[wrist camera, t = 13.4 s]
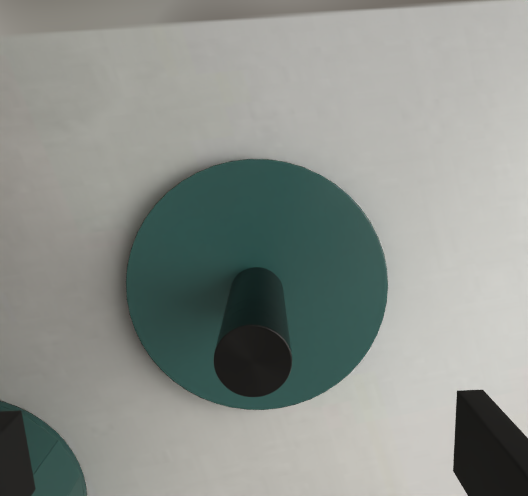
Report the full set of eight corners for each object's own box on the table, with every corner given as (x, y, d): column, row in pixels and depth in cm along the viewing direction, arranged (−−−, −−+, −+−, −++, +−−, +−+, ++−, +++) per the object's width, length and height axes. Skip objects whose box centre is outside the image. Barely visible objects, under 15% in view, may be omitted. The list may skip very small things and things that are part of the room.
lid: (117, 165, 26) (26, 174, 16) (384, 152, 26) (457, 152, 16) (145, 404, 30) (84, 533, 20) (382, 394, 29) (441, 519, 20)
